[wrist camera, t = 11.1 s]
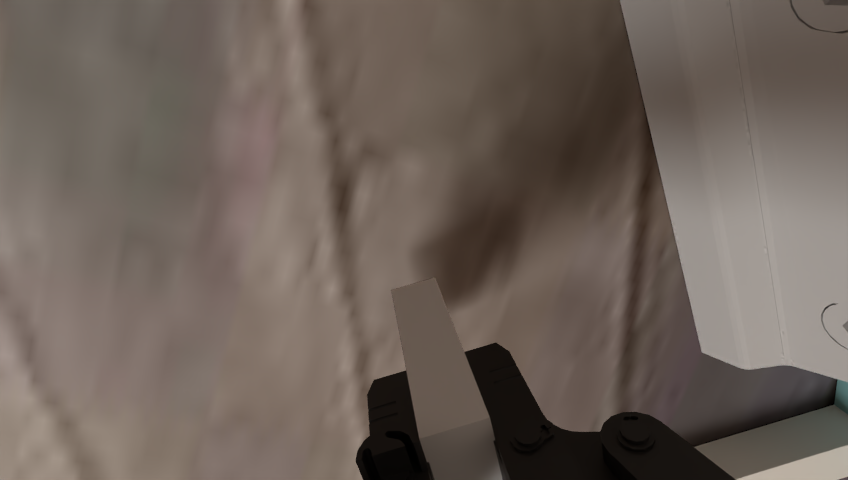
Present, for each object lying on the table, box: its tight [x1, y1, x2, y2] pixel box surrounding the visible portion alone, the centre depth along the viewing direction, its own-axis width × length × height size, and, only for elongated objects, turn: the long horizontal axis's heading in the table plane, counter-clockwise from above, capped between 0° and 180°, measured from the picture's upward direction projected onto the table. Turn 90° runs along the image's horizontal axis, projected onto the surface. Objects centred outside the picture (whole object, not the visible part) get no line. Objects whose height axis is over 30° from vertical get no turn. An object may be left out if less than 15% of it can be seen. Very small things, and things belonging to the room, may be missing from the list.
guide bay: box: [694, 379, 848, 480], centre depth 16 cm, size 26×15×5 cm, turn 13°
